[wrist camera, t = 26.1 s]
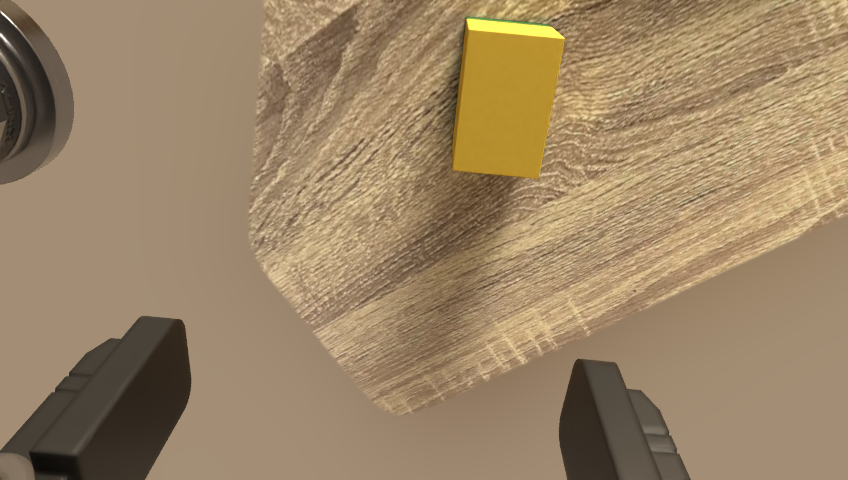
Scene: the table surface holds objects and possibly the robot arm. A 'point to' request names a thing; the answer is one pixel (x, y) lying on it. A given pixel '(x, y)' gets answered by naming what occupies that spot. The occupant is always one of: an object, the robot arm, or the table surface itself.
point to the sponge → (505, 96)
